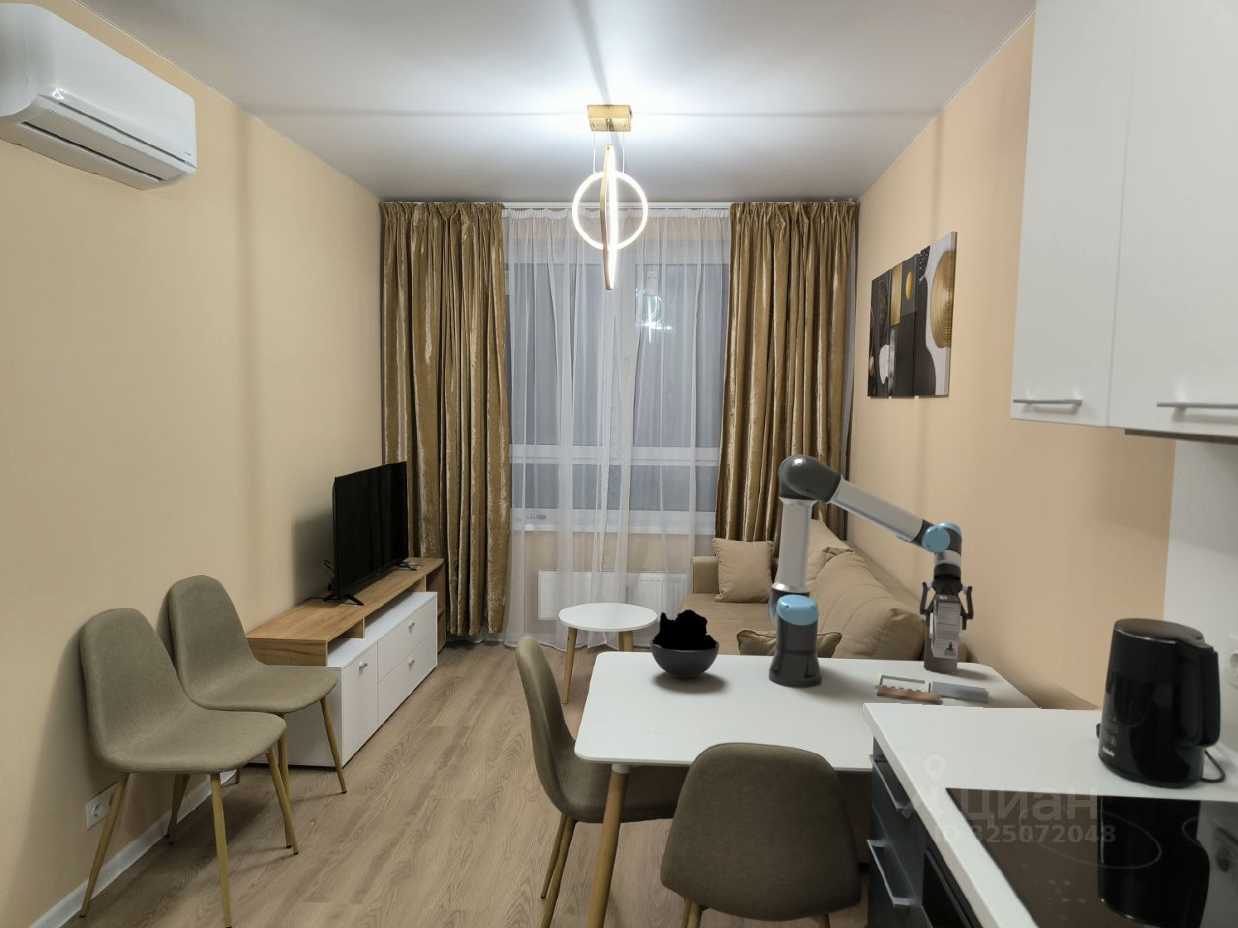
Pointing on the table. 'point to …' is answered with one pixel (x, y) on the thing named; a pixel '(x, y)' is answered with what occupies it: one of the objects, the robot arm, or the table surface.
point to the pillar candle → (937, 658)
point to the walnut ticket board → (908, 695)
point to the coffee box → (946, 626)
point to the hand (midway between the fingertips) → (945, 636)
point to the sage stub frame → (902, 679)
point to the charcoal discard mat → (960, 692)
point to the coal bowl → (684, 645)
